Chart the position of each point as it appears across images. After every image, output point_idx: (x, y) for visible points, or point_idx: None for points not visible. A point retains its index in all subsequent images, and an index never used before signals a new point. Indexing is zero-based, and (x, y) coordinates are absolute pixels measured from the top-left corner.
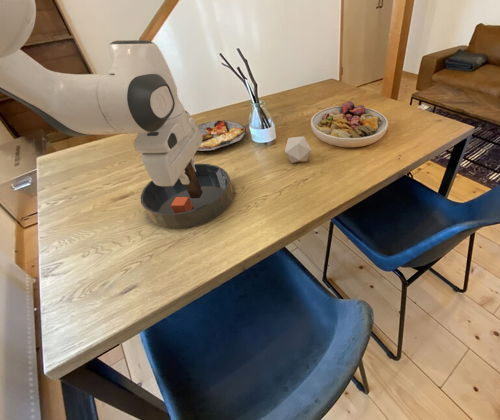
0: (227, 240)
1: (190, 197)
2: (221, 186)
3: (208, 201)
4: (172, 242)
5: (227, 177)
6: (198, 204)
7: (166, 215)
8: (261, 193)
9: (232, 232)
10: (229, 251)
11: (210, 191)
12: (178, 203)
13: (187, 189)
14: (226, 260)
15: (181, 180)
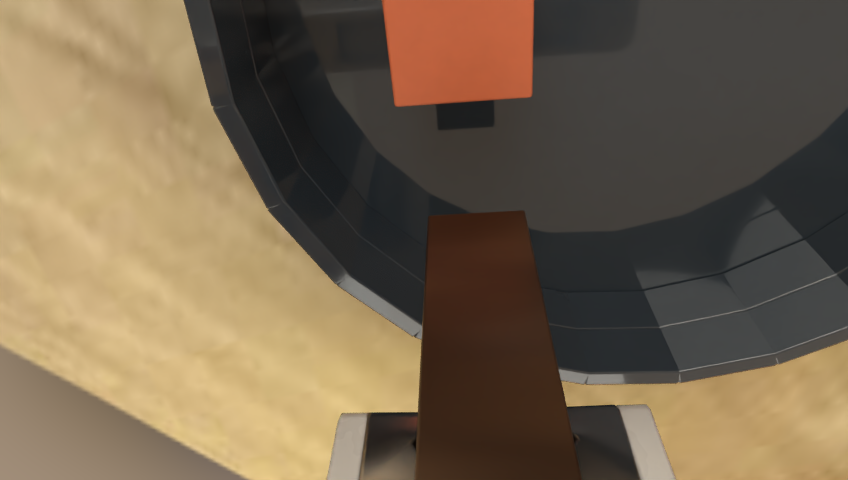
0: (245, 353)
1: (428, 221)
2: (785, 196)
3: (580, 163)
4: (119, 48)
5: (784, 352)
6: (544, 95)
7: (191, 26)
8: (655, 418)
9: (307, 360)
10: (179, 378)
11: (727, 130)
12: (417, 38)
13: (424, 295)
14: (124, 380)
15: (335, 469)
